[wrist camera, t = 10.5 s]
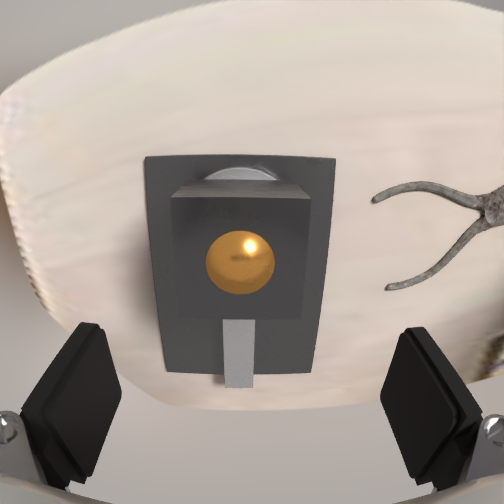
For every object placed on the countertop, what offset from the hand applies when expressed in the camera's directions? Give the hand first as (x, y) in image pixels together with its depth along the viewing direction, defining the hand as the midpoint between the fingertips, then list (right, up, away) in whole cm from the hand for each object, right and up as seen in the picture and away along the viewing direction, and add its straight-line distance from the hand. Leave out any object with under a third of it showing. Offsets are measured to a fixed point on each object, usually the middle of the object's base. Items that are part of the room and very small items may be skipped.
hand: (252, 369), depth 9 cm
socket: (-1, +5, +13) cm, 14 cm away
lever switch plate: (-1, +1, +17) cm, 17 cm away
